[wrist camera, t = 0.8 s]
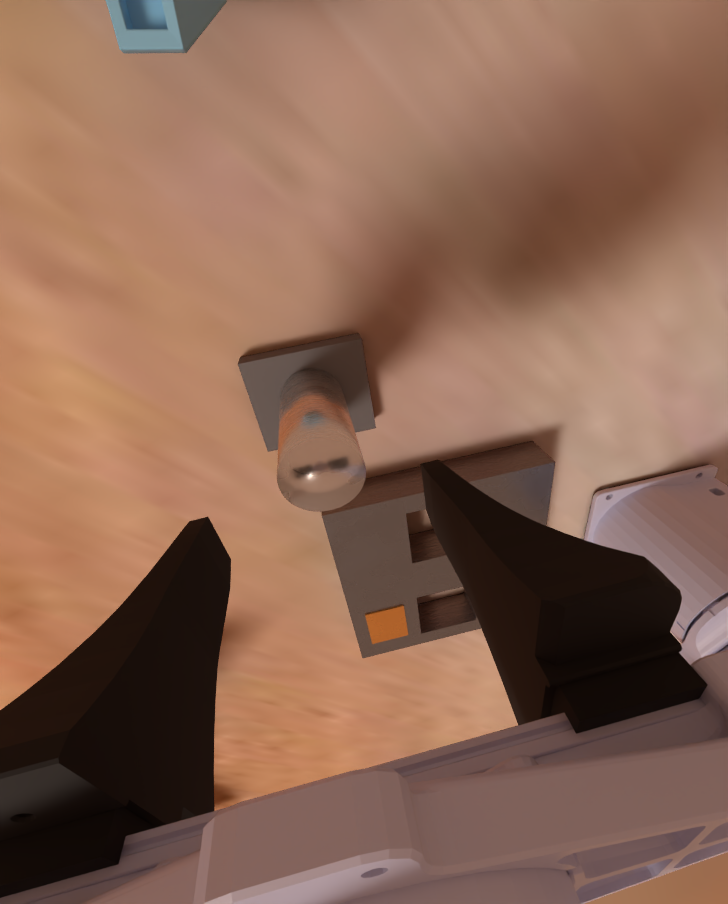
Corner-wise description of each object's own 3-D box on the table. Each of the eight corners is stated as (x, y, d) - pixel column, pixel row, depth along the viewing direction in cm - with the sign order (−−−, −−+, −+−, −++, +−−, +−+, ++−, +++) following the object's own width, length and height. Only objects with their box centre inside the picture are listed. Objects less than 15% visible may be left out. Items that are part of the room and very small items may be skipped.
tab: (358, 333, 20) (361, 338, 19) (372, 419, 22) (375, 428, 21) (239, 357, 19) (237, 363, 18) (268, 442, 22) (268, 451, 21)
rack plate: (532, 440, 25) (556, 463, 23) (518, 589, 33) (534, 616, 31) (318, 489, 24) (322, 517, 22) (357, 629, 32) (362, 659, 30)
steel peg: (336, 362, 19) (358, 429, 13) (348, 419, 21) (371, 500, 15) (272, 376, 19) (265, 450, 13) (289, 431, 21) (289, 519, 15)
